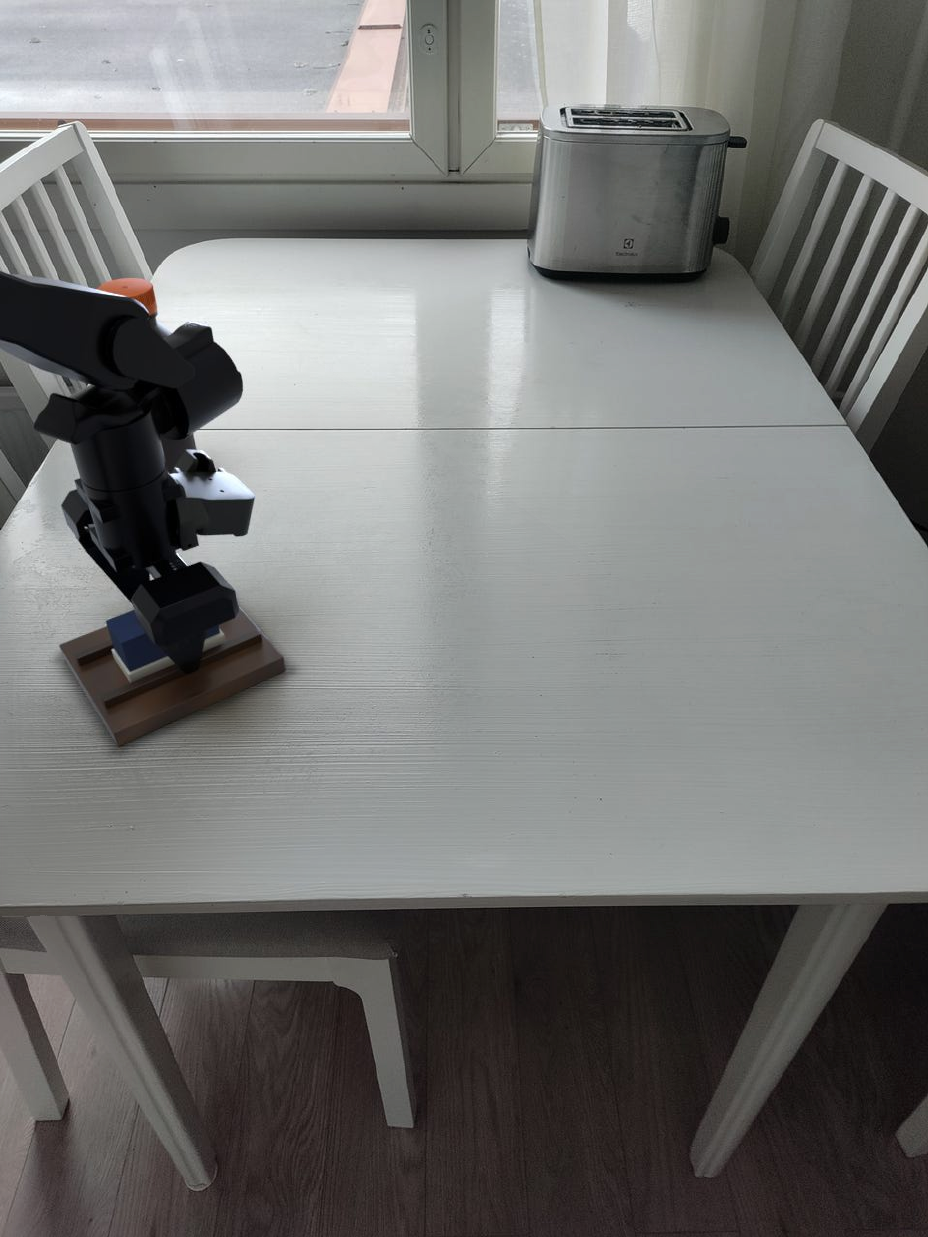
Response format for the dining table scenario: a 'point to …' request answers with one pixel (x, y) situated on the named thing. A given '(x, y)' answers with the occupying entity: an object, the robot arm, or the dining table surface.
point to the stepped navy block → (144, 646)
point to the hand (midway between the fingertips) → (167, 639)
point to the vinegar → (145, 295)
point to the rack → (169, 678)
